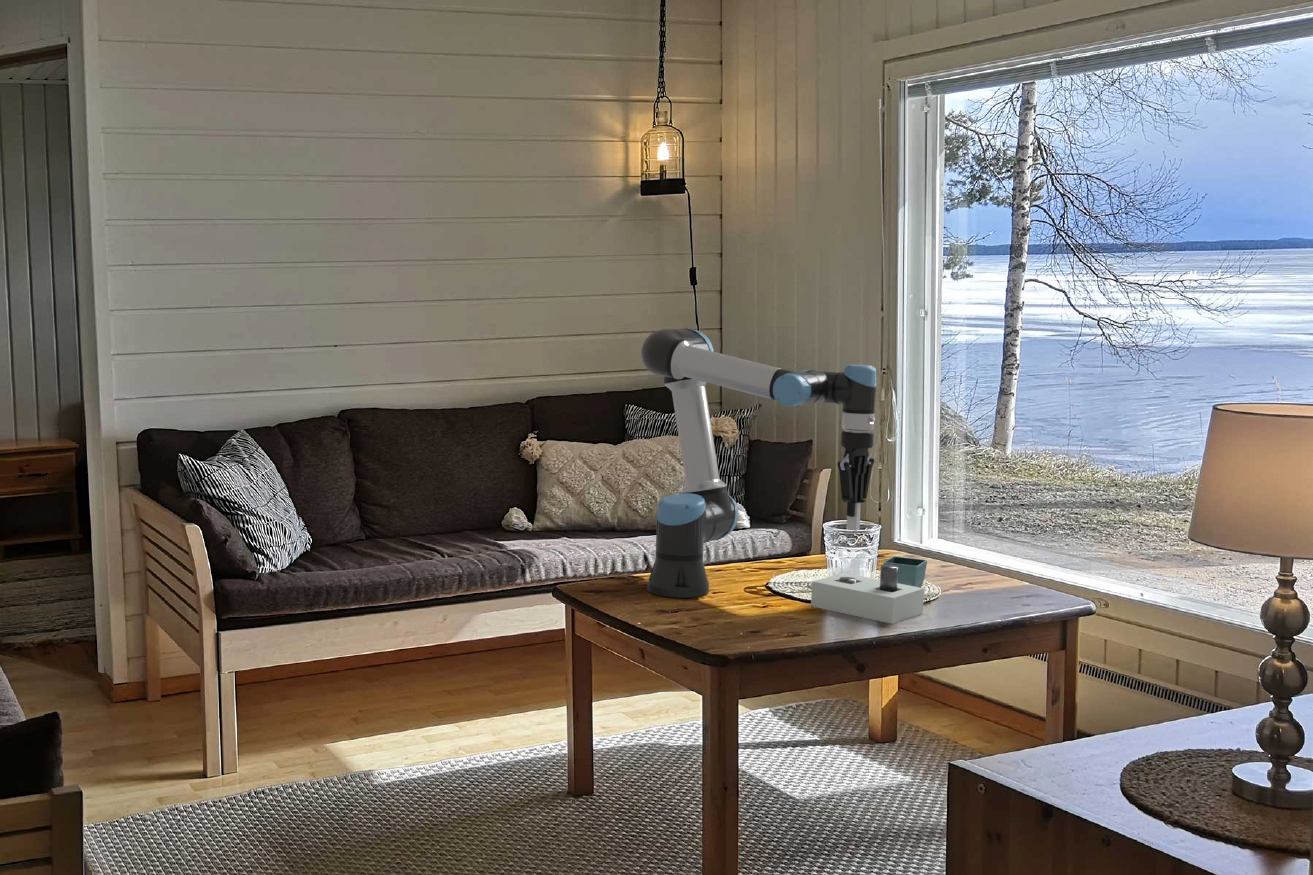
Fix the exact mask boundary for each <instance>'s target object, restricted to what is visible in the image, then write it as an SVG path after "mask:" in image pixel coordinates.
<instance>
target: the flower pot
mask: <svg viewBox="0 0 1313 875" xmlns="http://www.w3.org/2000/svg"><path fill="white" fill-rule="evenodd" d="M927 564H928V559H922V558H911V557H902V556H892V557H890V558H888V559H886V560H885V561H883V564H882V565H894V566H898V581H897V583H899V584H904V585H909V586H914V587H919V588H923V587H922V586H923V584H924V580H925V578H926V570H927Z"/></svg>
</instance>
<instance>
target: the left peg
mask: <svg viewBox="0 0 1313 875" xmlns="http://www.w3.org/2000/svg"><path fill="white" fill-rule="evenodd" d="M839 582H842V583H847V584H854V583H856V579H855V578H852V577H841V578H840V579H839Z"/></svg>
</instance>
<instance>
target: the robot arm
mask: <svg viewBox="0 0 1313 875" xmlns="http://www.w3.org/2000/svg"><path fill="white" fill-rule="evenodd" d="M640 352H641V353H640V357H641V359H642V363H643V365H644V366H645V368H646V369H647V370H648V371H649V372H650V373H651V374H653V375H655V376H661V377H663V382H664V386H665V387H666V388H667V389H669V391H670V392H671V395H672V402H673V408H674V414H675V422H676V428H677V435H678V440H679V446H680V447H679V448H680V453H681V458H682V467H683V471H684V480H685V485H684V487H683V488H682V490H681V492H679V493H678V494H676V493H674V494H670V495H668V494H667V495H666V496H664V497H662V498H661V499H660V500H659V501H658V503H657V508H656V509H657V510H656V514H655V517H656V528H655V529H656V536H655V540H656V541H655V559H654V563H653V564H652V565H653V566H652V568H651V571H650V574H649V577H648V580H647V589H646V590H647V591H648V593H650V594H653V595H656V596H660V597H666V598H681V599H685V598H687V599H690V598H698V597H703V596H706V595H708V594H709V592H710V581H709V580H708V577H707V576H708V575H707V571H706V568H705V564H704V544H706V543H709V542H712V541H719V540H721V539H723V538H725V537H726V536H728V535H729V534H731V533H732V532H733V531H734V529H735V528H736V526H737V524H738V521H739V515H740V514H739V507H738V505H737V504H738V503H737V502H736V500H735V499H734V498H732V497H731V495H730V494H729V492H728V486H727V483H725V482H724V481H723V480H721V479H720V474H719V468H718V467H719V466H718V462H717V460H718V459H717V456H716V448H715V443H714V436H713V435H714V434H713V430H712V428H713V427H712V421H711V416H710V409H709V403H708V396H707V390H706V384H707V383H708V384H711V385H715V386H719V387H723V388H726V389H730V390H734V391H738V392H742V393H746V394H750V395H754V396H757V397H761V398H762V397H763V398H764V399H765V398H766V399H769V400H773V401H776V402H778V403H779V404H780V405H782V406H783V407H784V406H785V407H791V408H798V407H800V406H804V405H805V406H806V405H815V404H837V405H842V410H841V411H842V412H841V413H842V415H841V429H843V430H842V431H841V434H840V446H841V447H843V448H844V453H843V460H842V461H840V460H838V461H837V463H836V465H837V468H838V471H839V479H840V480H839V481H840V494H841V500H842V502H843V503H846V506H847V507H846V530H848V531H849V530H850V531H855V532H856V531H860V526H861V509H862V507H861V506H862V503H866V501H867V497H868V493H869V486H870V481H871V473H872V470H873V469H872V468H873V467H874V463H875V458H872V457H870V453H869V449H872V448H873V447H874V436H875V434H874V432H872V431H873V430H874V428H875V421H876V419H875V412H876V411H875V408H876V394H877V393H876V392H877V386H878V384H877V369H876V368H875V367H874V366H873V365H871V364H870V365H869V364H868V365H867V364H846V365H844V368H843V369H844V370H843V371H842V372H840V371H839V372H836V371H835V372H834V371H825V370H815V369H806V370H805V369H804V370H800V371H799V372H796V371H792V370H789V369H783V368H780V367H776V366H772V365H768V364H764V363H761V362H757V361H752V360H748V359H744V358H740V357H737V356H732V355H729V354H725V353H719V352H716V351H714V347H713V344H712V342H711V340H710V339H709V337H708V336H707V335H706V334H704V332H702V331H699V330H697V329H691V328H688V327H687V328H686V327H685V328H674V329H673V328H669V329H668V328H665V329H664V328H663V329H659V330H655V331H653V332H651V333H650V334H649V335H648V336H647V337H646V338H645V339H644V341H643V343H642V346H641V351H640Z"/></svg>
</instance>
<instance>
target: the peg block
mask: <svg viewBox="0 0 1313 875" xmlns="http://www.w3.org/2000/svg"><path fill="white" fill-rule="evenodd" d="M841 577H852V578H855V579H856V583H854V584H847V583H842V582H839V579H840V578H841ZM924 598H925V588H924V587H921V588H919V587H914V586H909V585H904V584H899V583H897V591H896V592H887V591H882V590H880V579H877V578H873V577H868V576H863V575H858V574H857V575H856V574H851V573H847V572H842V573H838V574H834V575H829V576H827V577H824V578H820V579H819V578H818V579H816V580H813V581H812V582H811V599H810V600H811V601H810V607H814V608H817V609H818V608H819V609H822V610H826V611H827V610H828V611H831V612H835V613H836V612H837V613H842V614H845V615H850V616H853V617H859V618H864V619H869V620H874V621H878V622H881V623H886V624H892V625H893V624H895V623H896V624H897V623H900V622H902V621H905V620H907V619H911V618H913V617H916V616H918V615H922V614H923V613H924V601H925V600H924Z"/></svg>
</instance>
